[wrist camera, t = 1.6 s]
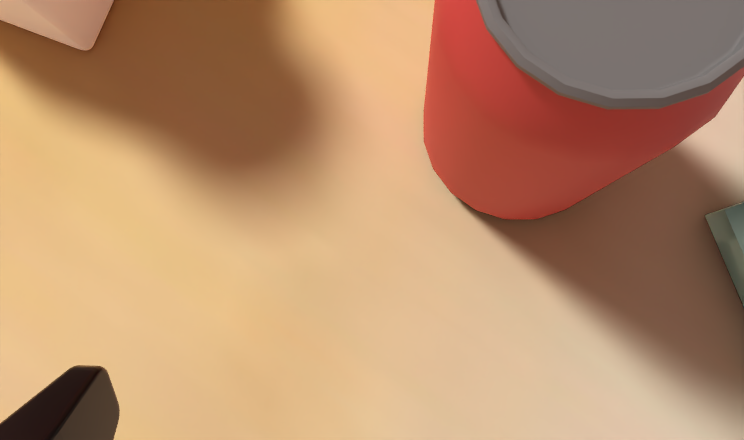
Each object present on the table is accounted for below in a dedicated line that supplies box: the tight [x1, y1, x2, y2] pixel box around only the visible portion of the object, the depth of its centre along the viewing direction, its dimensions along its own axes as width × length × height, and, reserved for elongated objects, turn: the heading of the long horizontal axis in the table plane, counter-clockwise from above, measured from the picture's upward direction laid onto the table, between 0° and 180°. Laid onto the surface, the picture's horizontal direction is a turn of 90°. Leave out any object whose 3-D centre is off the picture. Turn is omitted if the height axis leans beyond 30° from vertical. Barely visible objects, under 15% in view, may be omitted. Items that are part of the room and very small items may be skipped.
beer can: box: [424, 0, 744, 219], centre depth 17 cm, size 7×7×12 cm
